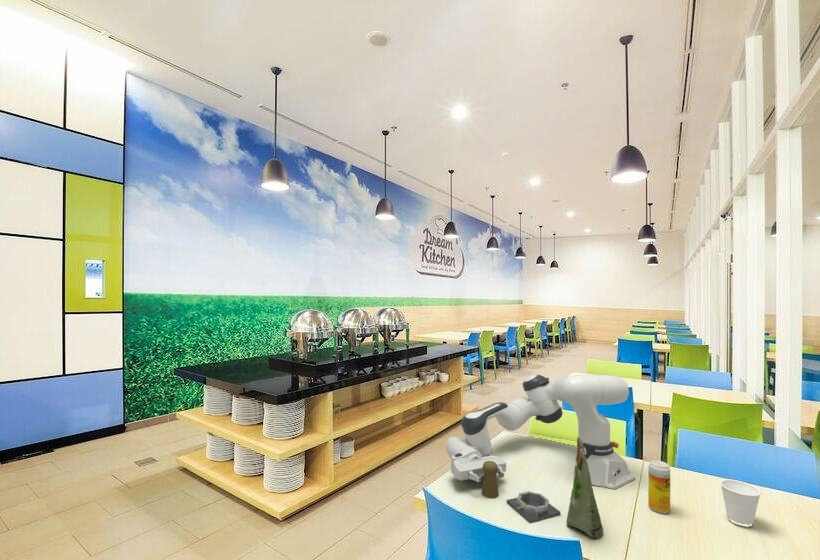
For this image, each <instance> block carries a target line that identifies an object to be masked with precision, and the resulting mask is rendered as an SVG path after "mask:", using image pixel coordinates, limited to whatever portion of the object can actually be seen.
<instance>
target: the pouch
mask: <svg viewBox="0 0 820 560" xmlns="http://www.w3.org/2000/svg"><path fill="white" fill-rule="evenodd" d="M576 456H577V457H575V462H576V461H577V465H576V466H575V468H574V470H575V475H574V477H573V482H572V483H573V486H572V489H571V493H570V500H569V505H568V510H567V511H568V512H567V518H566V525H567V526H569V527H573V528H575V529H578V530H580V531H581V532H584V533H585V534H587V535H588V536H589V537H591V538H592V539H594V538H595V539H596V538H600V536H602V535H603V533H604V528H603V525H602V522H601V521H602V520H601V515H600V513H599V508H598V504H597V500H596V498H595V492H594V488H593V485H592V483H591V477H590V473H589V468H588V464H587V460H586V456H585V451H584V446H583V443H582V441H581V439H580V438H579V439H578V448H576Z"/></svg>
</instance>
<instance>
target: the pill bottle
mask: <svg viewBox="0 0 820 560" xmlns="http://www.w3.org/2000/svg"><path fill="white" fill-rule="evenodd" d="M669 465H670V464H669V463H667V462H665V461H663V460H658V459H652V460H650V461H649V463H648V493H647V494H648V495H647V496H648V497H647V498H648V503H647V504H648V506H649V507H650V509H651V510H652V511H653V512H655V513H658V514H662V515H663V514H664V515H666V514H668V513H669V512H670V511H671V468H670V466H669Z"/></svg>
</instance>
